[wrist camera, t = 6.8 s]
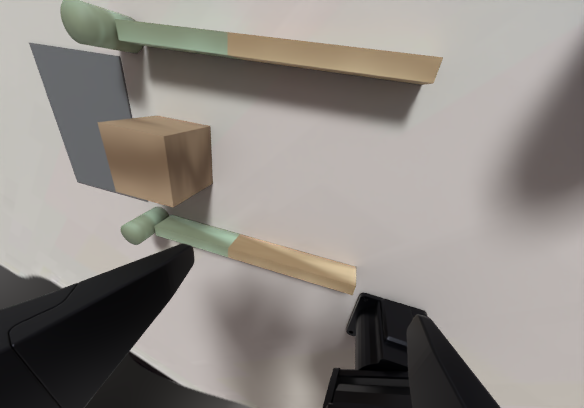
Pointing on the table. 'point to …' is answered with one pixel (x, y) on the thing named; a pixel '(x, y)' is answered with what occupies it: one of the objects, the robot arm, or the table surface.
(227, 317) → the table surface
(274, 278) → the table surface
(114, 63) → the pit mat
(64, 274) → the table surface
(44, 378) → the robot arm
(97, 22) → the lane walls
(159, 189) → the block
